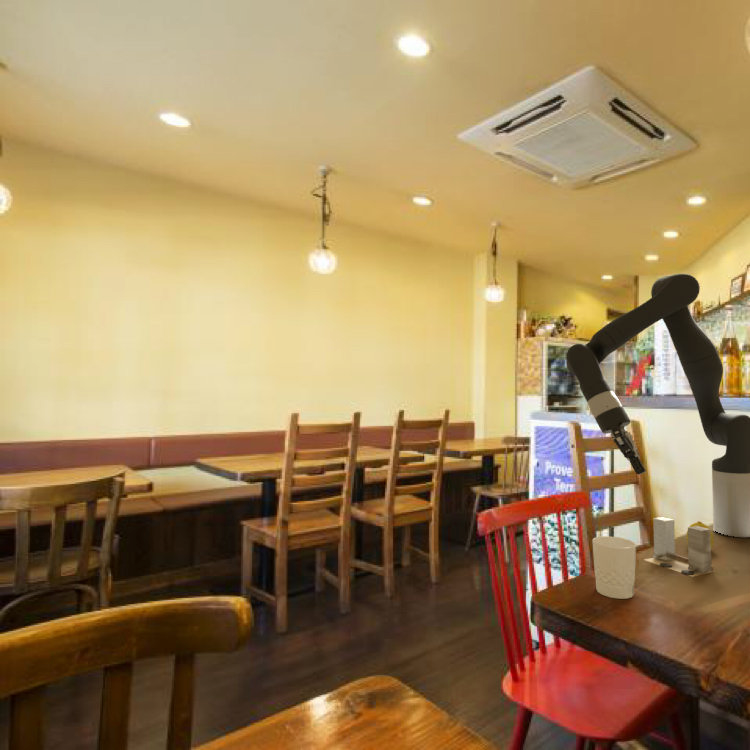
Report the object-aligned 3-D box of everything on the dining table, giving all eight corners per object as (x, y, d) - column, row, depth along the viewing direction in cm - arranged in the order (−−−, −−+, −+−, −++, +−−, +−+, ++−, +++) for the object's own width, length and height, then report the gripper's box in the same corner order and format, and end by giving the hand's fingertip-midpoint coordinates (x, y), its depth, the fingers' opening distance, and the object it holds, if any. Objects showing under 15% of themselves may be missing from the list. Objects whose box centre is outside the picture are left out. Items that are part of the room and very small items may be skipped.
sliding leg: (663, 555, 121) (662, 516, 121) (675, 559, 118) (674, 519, 118) (648, 558, 119) (648, 519, 119) (660, 562, 116) (659, 522, 116)
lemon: (712, 559, 121) (712, 525, 122) (685, 555, 125) (684, 522, 125) (714, 553, 126) (714, 520, 126) (688, 549, 129) (687, 517, 129)
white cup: (599, 581, 108) (599, 534, 108) (641, 591, 103) (640, 540, 103) (588, 593, 102) (587, 542, 102) (631, 604, 97) (630, 550, 97)
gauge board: (665, 560, 121) (664, 516, 121) (715, 576, 110) (714, 528, 111) (642, 565, 118) (641, 520, 118) (691, 582, 107) (690, 533, 108)
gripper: (615, 401, 129) (651, 465, 122) (627, 409, 140) (661, 468, 132) (588, 415, 133) (621, 478, 125) (601, 421, 143) (632, 480, 135)
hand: (641, 473), depth 129 cm, fingers closed
